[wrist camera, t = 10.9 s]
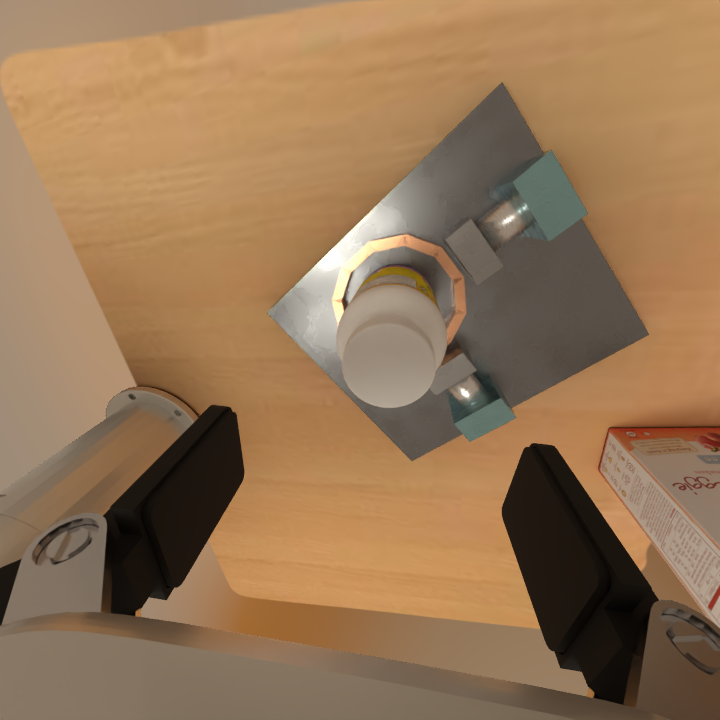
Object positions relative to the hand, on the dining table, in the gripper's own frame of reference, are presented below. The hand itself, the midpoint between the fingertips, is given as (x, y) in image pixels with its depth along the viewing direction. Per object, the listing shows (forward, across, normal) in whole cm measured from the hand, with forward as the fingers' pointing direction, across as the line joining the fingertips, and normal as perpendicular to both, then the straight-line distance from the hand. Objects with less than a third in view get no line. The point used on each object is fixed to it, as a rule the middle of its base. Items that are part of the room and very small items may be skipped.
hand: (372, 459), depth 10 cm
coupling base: (+20, -5, +1) cm, 20 cm away
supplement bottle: (+19, 0, 0) cm, 19 cm away
